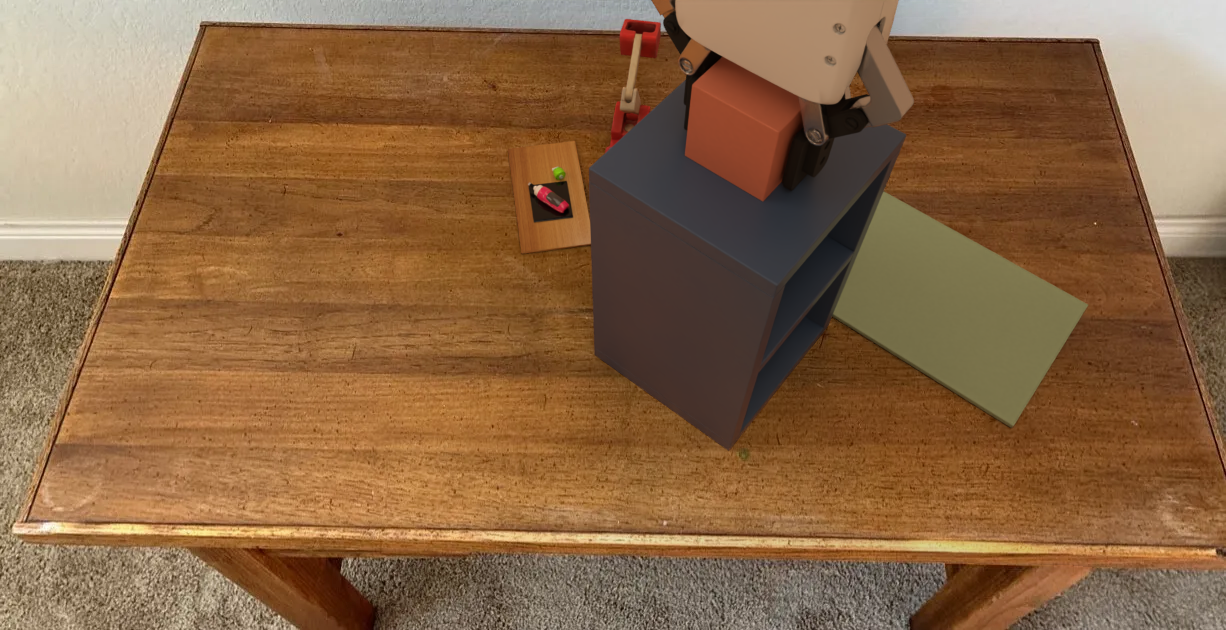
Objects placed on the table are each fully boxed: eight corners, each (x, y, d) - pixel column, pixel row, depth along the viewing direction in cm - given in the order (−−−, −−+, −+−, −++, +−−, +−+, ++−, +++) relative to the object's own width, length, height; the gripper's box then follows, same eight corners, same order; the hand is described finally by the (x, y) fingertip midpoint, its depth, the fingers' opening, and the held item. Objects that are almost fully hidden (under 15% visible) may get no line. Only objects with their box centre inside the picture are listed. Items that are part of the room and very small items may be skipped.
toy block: (815, 145, 51) (835, 74, 46) (762, 202, 48) (779, 132, 44) (738, 103, 53) (750, 30, 48) (684, 155, 50) (691, 84, 46)
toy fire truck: (599, 202, 77) (598, 124, 68) (623, 94, 84) (624, 11, 76) (637, 207, 76) (640, 129, 68) (657, 98, 84) (662, 15, 75)
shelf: (828, 326, 70) (907, 134, 51) (728, 451, 64) (777, 285, 45) (698, 244, 74) (727, 40, 56) (594, 354, 68) (588, 167, 50)
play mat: (1086, 307, 71) (1088, 304, 71) (1011, 428, 65) (1013, 426, 65) (873, 188, 78) (874, 185, 77) (788, 289, 72) (788, 286, 71)
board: (575, 142, 80) (574, 131, 79) (594, 244, 74) (594, 234, 73) (508, 150, 80) (506, 138, 79) (521, 254, 74) (520, 243, 72)
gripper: (1053, -128, 34) (915, 179, 49) (694, -266, 39) (671, 47, 55) (964, -33, 30) (846, 263, 46) (588, -198, 36) (595, 114, 51)
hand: (751, 143), depth 50 cm, fingers open, 6 cm apart
